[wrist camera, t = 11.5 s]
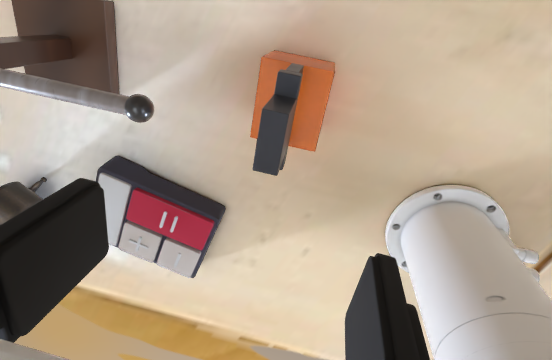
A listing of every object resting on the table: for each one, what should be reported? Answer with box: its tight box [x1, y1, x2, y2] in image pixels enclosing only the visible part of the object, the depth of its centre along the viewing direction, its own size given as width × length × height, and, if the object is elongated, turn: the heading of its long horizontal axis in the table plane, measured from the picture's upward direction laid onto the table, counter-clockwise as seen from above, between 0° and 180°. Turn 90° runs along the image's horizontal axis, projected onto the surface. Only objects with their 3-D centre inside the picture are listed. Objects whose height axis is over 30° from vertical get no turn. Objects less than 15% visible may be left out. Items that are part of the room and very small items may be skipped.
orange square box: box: [250, 50, 335, 176], centre depth 26 cm, size 6×7×15 cm
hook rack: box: [0, 0, 154, 123], centre depth 26 cm, size 21×10×18 cm, turn 80°
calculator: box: [96, 156, 226, 278], centre depth 41 cm, size 11×4×15 cm
